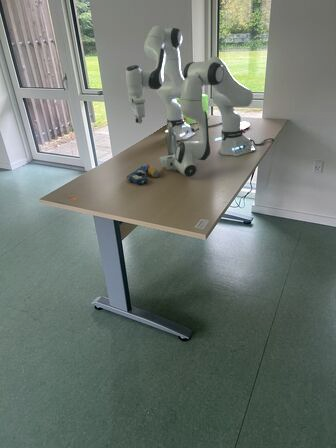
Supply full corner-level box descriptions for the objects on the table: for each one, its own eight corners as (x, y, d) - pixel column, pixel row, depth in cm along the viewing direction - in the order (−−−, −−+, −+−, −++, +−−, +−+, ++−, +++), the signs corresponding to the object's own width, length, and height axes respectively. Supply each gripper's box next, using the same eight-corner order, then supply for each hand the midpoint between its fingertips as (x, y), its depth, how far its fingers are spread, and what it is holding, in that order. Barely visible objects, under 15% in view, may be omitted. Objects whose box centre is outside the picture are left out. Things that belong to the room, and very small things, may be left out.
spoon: (243, 140, 236) (243, 137, 234) (228, 139, 239) (228, 137, 238) (251, 123, 262) (251, 121, 261) (237, 123, 266) (237, 120, 264)
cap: (137, 120, 198) (137, 118, 197) (143, 121, 197) (143, 118, 196) (134, 122, 195) (134, 119, 194) (140, 122, 194) (139, 120, 193)
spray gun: (164, 171, 194) (142, 169, 200) (163, 164, 191) (141, 162, 198) (147, 187, 178) (123, 184, 185) (146, 179, 176) (122, 177, 182)
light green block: (191, 115, 302) (190, 88, 290) (208, 118, 288) (208, 90, 276) (170, 121, 289) (168, 93, 277) (187, 125, 275) (185, 95, 263)
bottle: (179, 163, 204) (177, 127, 192) (171, 165, 202) (168, 129, 190) (175, 160, 208) (172, 125, 197) (167, 162, 206) (164, 127, 195)
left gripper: (127, 95, 197) (130, 119, 204) (134, 101, 180) (137, 127, 187) (137, 94, 198) (140, 117, 205) (145, 99, 181) (148, 125, 188)
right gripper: (196, 153, 192) (187, 146, 204) (163, 159, 187) (155, 152, 199) (197, 163, 196) (188, 156, 207) (164, 170, 191) (156, 162, 202)
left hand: (139, 122), depth 196 cm, fingers closed on cap, 4 cm apart
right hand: (172, 154), depth 203 cm, fingers closed on bottle, 5 cm apart
